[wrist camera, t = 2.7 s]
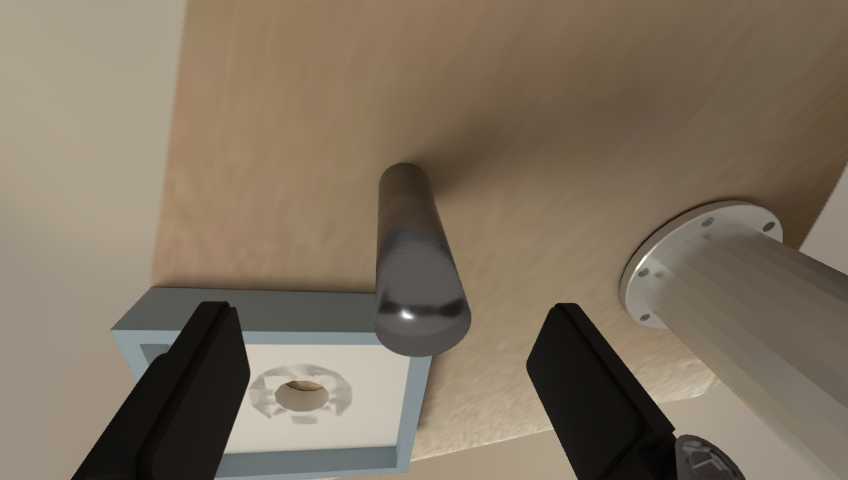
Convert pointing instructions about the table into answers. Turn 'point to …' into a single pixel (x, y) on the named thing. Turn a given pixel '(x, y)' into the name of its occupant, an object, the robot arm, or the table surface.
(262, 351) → the box
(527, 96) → the table surface
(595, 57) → the table surface
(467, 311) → the peg
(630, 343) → the table surface
